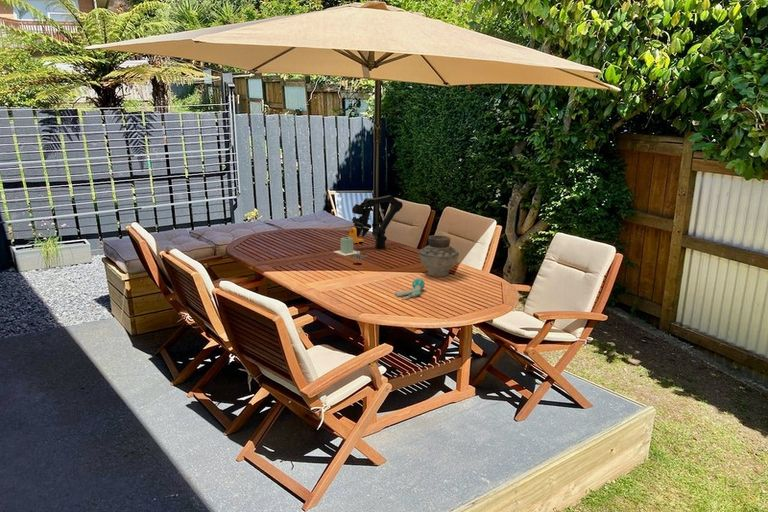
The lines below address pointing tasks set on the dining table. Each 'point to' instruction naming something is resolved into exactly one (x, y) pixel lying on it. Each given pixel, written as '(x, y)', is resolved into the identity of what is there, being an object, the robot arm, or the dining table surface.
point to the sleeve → (347, 245)
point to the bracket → (354, 235)
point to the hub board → (344, 253)
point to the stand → (358, 255)
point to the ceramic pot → (438, 256)
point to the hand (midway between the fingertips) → (360, 236)
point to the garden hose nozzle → (417, 285)
